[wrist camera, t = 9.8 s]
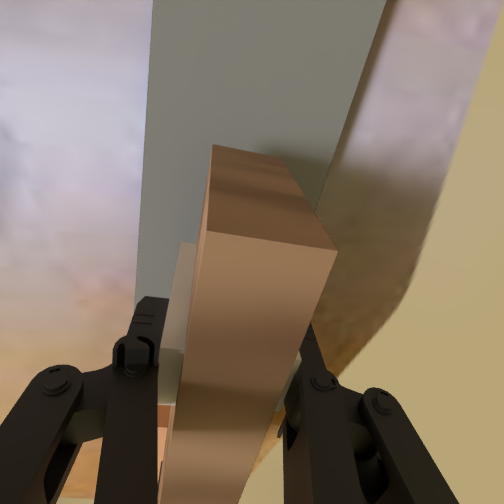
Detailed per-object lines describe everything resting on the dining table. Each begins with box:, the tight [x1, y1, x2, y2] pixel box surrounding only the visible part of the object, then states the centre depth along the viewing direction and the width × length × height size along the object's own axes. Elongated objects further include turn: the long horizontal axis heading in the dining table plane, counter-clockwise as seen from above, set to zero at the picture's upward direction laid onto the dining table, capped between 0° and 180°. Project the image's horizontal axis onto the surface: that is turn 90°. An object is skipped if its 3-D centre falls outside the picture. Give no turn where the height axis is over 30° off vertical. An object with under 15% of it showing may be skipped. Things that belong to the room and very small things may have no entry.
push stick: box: [158, 144, 338, 504], centre depth 16 cm, size 23×3×8 cm, turn 168°
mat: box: [134, 0, 387, 311], centre depth 17 cm, size 28×9×1 cm, turn 167°
